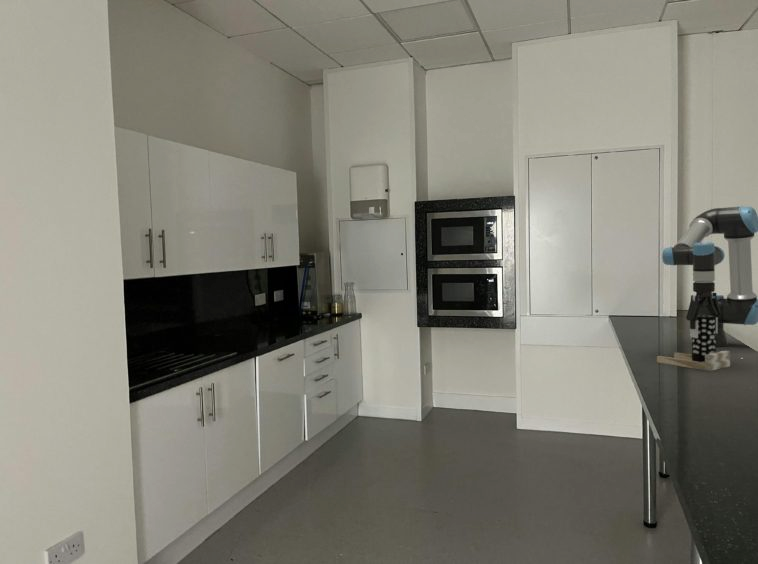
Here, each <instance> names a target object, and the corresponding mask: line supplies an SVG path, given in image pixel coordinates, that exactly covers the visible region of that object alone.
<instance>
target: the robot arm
mask: <svg viewBox="0 0 758 564" xmlns="http://www.w3.org/2000/svg"><path fill="white" fill-rule="evenodd" d="M688 227H689V228H688V229H687V231H685V232H684V234H683V235H682V236H681V238H680V239H679V240H678V241H677V243H676V244H675V245H674V246H673V247H672V246H669V247H665V248H663V250H662V254H661V255H662V257H661V259H662V263H663V264H664V265H666V266H672V267H674V266H692V271H693V272H692V281H693V283H692V292H694V293H696V294H691V295H690V302H689V305H688V310H687V313H686V317H685V319H686V320H687V321H689V336H690V338H691V341H690V342H691V344H692V337H694V338H698V321H696V320H697V318H698V316H699V315H713V316H716V348H719V347H727V346H728V345H729V344H728V343H729V341H728V338H727V334H726V332H725V329H724V324H726V325H727V324H730V325H744V326H747V325H748V326H749V325H751V326H754V325H756V324H758V296H757V294H756V292H754V291H753V272H752V271H753V270H752V269H753V268H752V249H751V248H752V246H751V241H752V239H754V237H755V233H758V213H757V211H756V210H755V208H754V207H752V206H743V205H742V206H741V205H740V206H732V207H730V206H729V207H717V208H715V207H714V208H711V209H708V210H706V211H704V212H702V213H700V214H699V215H696V217H694V218H693V220H692V221H691V222H690V224H689V226H688ZM717 234H718V235H721V234H723V239H724V240H726V241H727V242H728V243H727V245H728V263H729V265H728V266H729V286H730V287H729V288H730V292H729V293H728V294H727V295H726V298H725V297H724V295H721V294H720V295H719V294H717V292H715V291H716V290H715V289H716V286H715V285H716V283H715V282H714V281H715V280H716V277H715V276H716V274H715V273H716V272H715V267H716V266H717V265H719V264H721V263H722V262H723V261H724V259H725V255H726V254H725V252H724V250H723V249H722V248H721V247H720V246H716V245H715V243H714V242H712V241H711V242H703V241H704V239H705V238H707V237H709V236H711V235H717Z"/></svg>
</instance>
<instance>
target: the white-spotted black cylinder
mask: <svg viewBox="0 0 758 564" xmlns="http://www.w3.org/2000/svg"><path fill="white" fill-rule="evenodd" d="M696 321H698V338H694V337H691V339H692V343H691V355H692V361H697V362H704V363H705V355H706V354H711V353H716V352H717V351H716V350H717V347H716V316H713V315H699V316H698V318H697V320H696Z"/></svg>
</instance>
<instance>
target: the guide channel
mask: <svg viewBox="0 0 758 564" xmlns="http://www.w3.org/2000/svg"><path fill="white" fill-rule="evenodd" d="M657 362H658V363H659V364H664V365H671V366H677V367H684V368H689V369H696V370H700V371H701V370H702V371H707V372H712V371H716V370H721V369H724V368H729V367H730V366H731V351H730V350H721V351H716V353H711V354H706V355H705V363H704V362H697V361H692V353H683V352H674V353H673V357H669V356H664V355H658V356H656V363H657Z"/></svg>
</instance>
